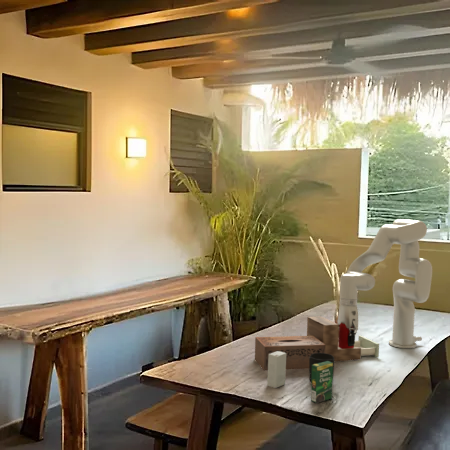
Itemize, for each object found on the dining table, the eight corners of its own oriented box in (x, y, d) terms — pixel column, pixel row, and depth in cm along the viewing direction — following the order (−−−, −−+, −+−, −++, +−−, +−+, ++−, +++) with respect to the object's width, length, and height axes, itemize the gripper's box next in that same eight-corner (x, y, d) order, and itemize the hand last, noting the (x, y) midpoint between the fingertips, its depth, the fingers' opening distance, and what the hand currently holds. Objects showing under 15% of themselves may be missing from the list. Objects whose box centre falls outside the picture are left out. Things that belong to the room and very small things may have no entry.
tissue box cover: (263, 371, 232) (264, 346, 231) (254, 360, 246) (255, 337, 246) (324, 368, 237) (325, 344, 237) (312, 358, 252) (313, 335, 251)
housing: (341, 349, 266) (343, 315, 265) (360, 359, 251) (362, 323, 250) (306, 352, 260) (307, 316, 259) (323, 362, 245) (324, 325, 244)
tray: (362, 347, 269) (362, 335, 268) (380, 356, 255) (381, 343, 254) (326, 350, 262) (326, 337, 262) (343, 359, 248) (343, 346, 248)
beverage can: (354, 351, 253) (355, 324, 252) (338, 350, 255) (339, 323, 254) (353, 347, 260) (354, 320, 259) (338, 346, 261) (339, 319, 260)
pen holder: (338, 384, 218) (339, 358, 218) (320, 388, 213) (321, 361, 213) (321, 376, 226) (322, 351, 226) (303, 380, 221) (304, 354, 221)
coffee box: (315, 404, 197) (317, 366, 196) (309, 401, 200) (311, 363, 199) (332, 399, 202) (334, 362, 201) (326, 397, 204) (328, 360, 203)
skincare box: (276, 381, 219) (277, 350, 218) (285, 384, 216) (287, 352, 215) (266, 385, 214) (267, 353, 213) (276, 388, 211) (277, 356, 210)
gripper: (366, 305, 249) (364, 346, 250) (345, 297, 265) (344, 336, 266) (351, 306, 246) (349, 347, 248) (330, 298, 263) (329, 337, 264)
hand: (346, 341), depth 257 cm, fingers closed on beverage can, 6 cm apart
